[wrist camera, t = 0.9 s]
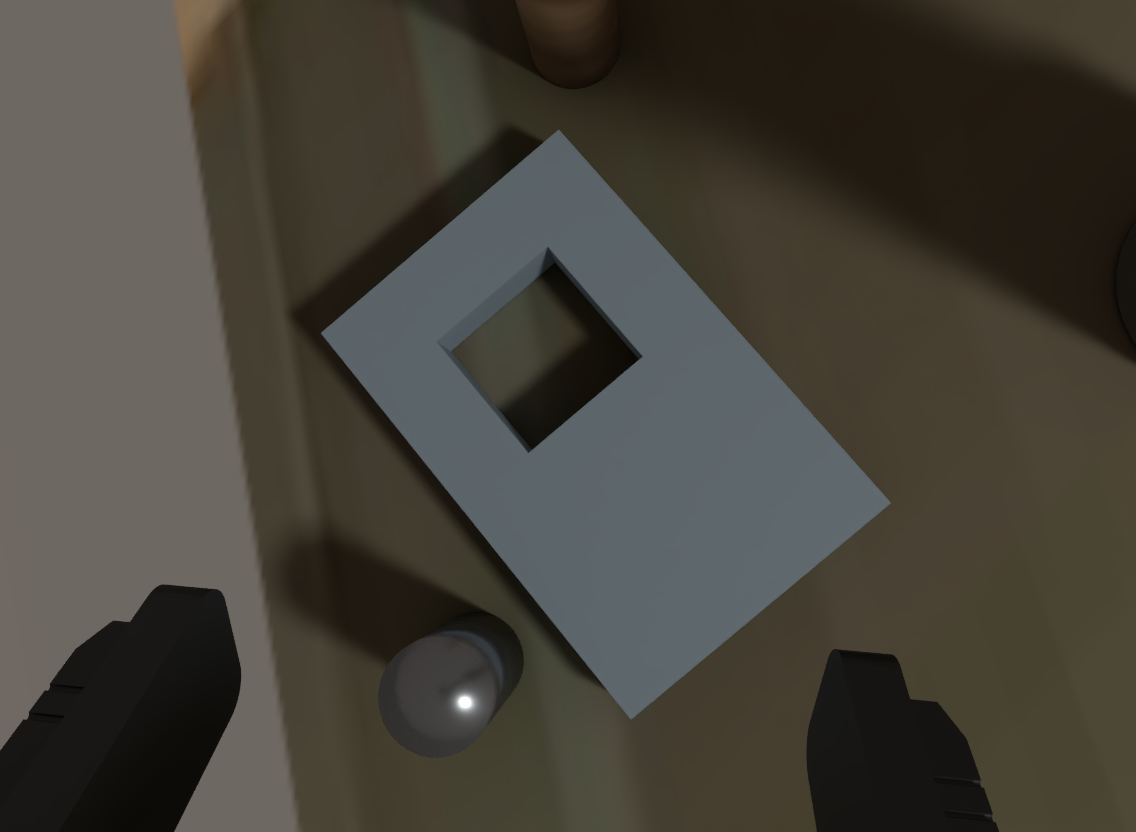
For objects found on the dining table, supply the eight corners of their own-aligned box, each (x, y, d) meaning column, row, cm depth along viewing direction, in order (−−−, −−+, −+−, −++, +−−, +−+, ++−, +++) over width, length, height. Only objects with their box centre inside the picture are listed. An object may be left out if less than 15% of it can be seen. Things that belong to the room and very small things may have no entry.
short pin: (483, 592, 37) (442, 614, 31) (542, 667, 37) (515, 707, 30) (412, 652, 38) (355, 688, 31) (470, 728, 37) (426, 781, 30)
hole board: (565, 153, 39) (558, 129, 36) (875, 502, 36) (890, 502, 34) (342, 343, 39) (320, 333, 37) (632, 704, 36) (630, 719, 34)
